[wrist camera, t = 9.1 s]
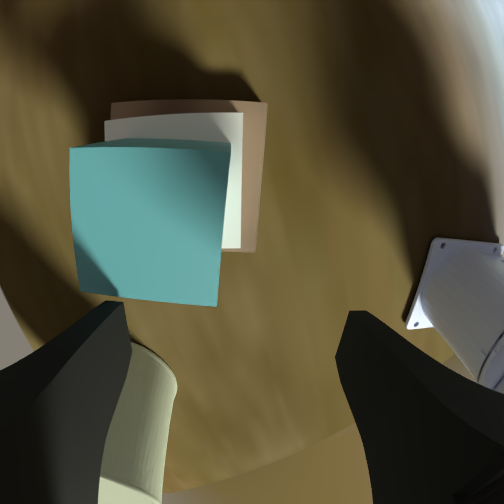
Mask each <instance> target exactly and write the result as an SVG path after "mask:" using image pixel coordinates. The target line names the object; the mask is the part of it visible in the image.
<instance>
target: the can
mask: <svg viewBox="0 0 504 504" xmlns="http://www.w3.org/2000/svg"><path fill="white" fill-rule="evenodd" d="M131 346H132V355H131V360H130V365H129V369H128V373H127V377H126V380H125V383H124V386H123V389H122V392H121V395H120V398H119V400H118V403H117V406H116V409H115V412H114V415H113V418H112V421H111V424H110V427H109V430H108V434H107V437H106V441H105V447H104V452H103V458H102V465H101V473H100V482H99V493H98V504H162V502H161V501H162V499H161V498H162V485H163V474H164V464H165V456H166V448H167V440H168V433H169V425H170V419H171V412H172V406H173V401H174V398H175V396H176V392H177V382H176V379H175V376H174V374H173V372H172V371H171V369H170V368H169V366H168V365H167V364H166V363H165V362H164V361H163V360H162V359H161V358H160V357H158V356H157V355H156V354H154V353H153V352H151V351H150V350H148V349H146V348H144V347H142V346H140V345H138V344H136V343H133V342H131Z"/></svg>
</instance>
